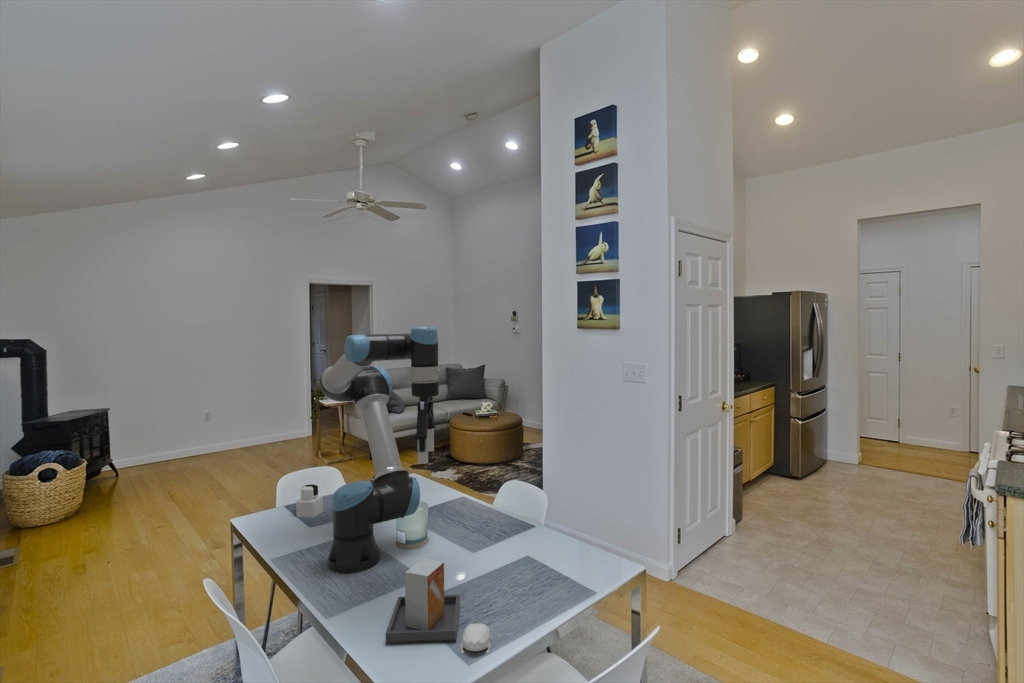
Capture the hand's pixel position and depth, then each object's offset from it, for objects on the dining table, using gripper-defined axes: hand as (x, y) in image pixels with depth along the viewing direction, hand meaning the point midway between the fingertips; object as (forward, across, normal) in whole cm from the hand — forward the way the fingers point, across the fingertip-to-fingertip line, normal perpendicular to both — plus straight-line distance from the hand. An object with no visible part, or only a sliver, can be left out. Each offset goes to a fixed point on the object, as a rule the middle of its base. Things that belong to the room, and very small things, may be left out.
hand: (426, 457), depth 141 cm
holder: (+35, -22, -2) cm, 41 cm away
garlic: (+35, -31, -14) cm, 49 cm away
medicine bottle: (+35, +52, +51) cm, 81 cm away
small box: (+34, -21, -2) cm, 40 cm away
